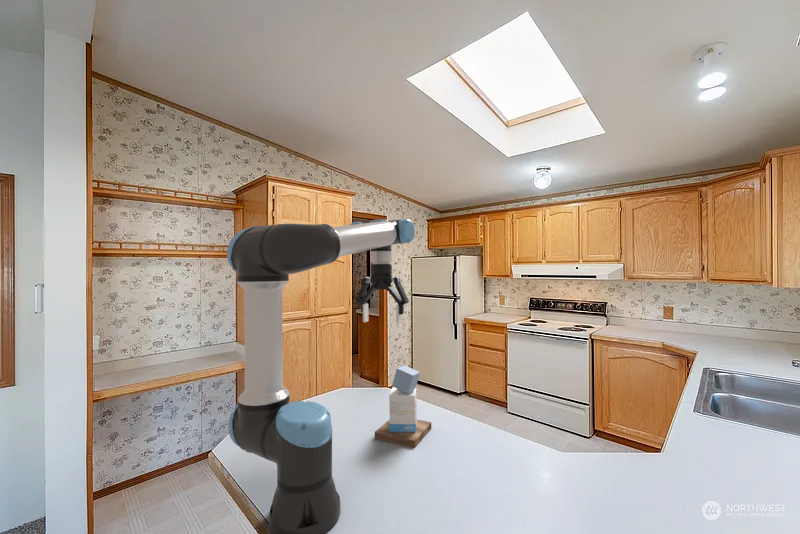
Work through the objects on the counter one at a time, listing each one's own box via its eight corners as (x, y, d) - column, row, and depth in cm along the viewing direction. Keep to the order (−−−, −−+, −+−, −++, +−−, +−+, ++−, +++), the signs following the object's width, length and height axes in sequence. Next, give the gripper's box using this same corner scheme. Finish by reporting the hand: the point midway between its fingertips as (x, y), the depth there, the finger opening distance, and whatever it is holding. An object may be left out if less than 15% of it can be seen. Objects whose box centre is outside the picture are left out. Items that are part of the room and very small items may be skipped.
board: (414, 447, 106) (414, 440, 106) (374, 438, 112) (374, 431, 112) (431, 428, 119) (431, 422, 119) (394, 420, 125) (394, 415, 125)
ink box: (415, 433, 111) (415, 390, 111) (389, 432, 112) (388, 390, 112) (417, 421, 119) (416, 381, 120) (392, 420, 120) (392, 381, 120)
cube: (408, 393, 111) (413, 375, 111) (391, 385, 114) (396, 368, 114) (415, 389, 117) (420, 372, 117) (399, 381, 119) (404, 365, 119)
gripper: (417, 262, 124) (418, 323, 124) (357, 264, 135) (358, 319, 135) (408, 262, 117) (409, 326, 117) (346, 264, 128) (347, 322, 128)
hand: (382, 322), depth 126 cm, fingers open, 13 cm apart
